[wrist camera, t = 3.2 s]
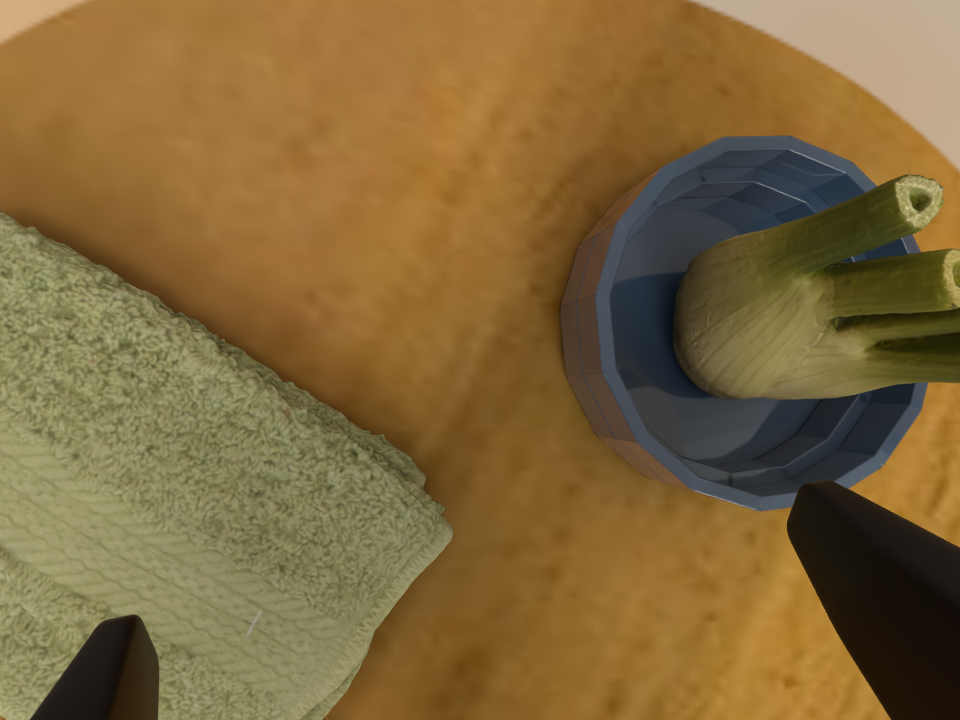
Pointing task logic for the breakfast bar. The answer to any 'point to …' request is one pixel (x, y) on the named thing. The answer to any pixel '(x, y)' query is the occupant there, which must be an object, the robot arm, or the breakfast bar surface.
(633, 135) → the breakfast bar surface
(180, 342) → the washcloth
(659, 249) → the bowl
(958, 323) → the fennel bulb
